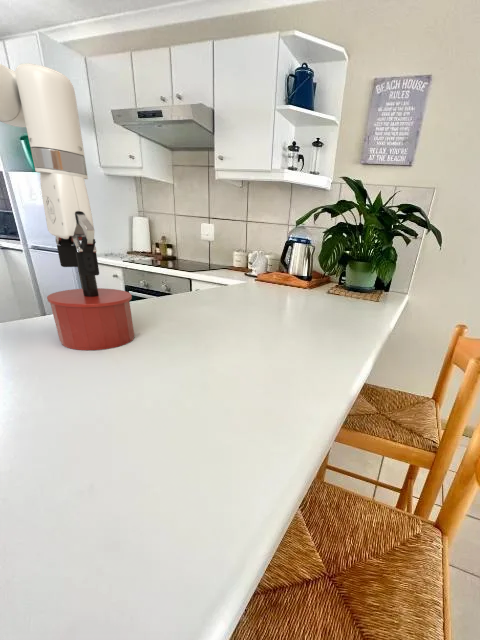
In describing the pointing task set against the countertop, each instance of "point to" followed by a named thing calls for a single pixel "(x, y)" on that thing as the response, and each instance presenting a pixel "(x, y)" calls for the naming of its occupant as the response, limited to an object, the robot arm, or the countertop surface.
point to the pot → (94, 326)
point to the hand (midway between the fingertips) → (79, 270)
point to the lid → (89, 295)
